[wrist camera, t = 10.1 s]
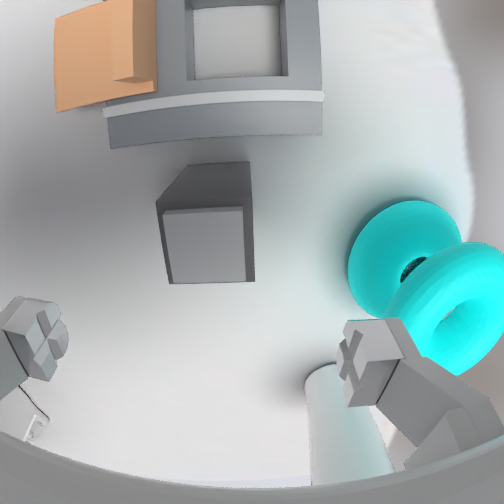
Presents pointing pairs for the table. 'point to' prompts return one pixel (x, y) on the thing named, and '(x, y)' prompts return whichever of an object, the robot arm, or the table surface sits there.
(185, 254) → the plug
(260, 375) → the table surface
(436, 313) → the donuts
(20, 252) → the table surface
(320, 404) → the drinking glass
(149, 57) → the block
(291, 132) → the socket plate
